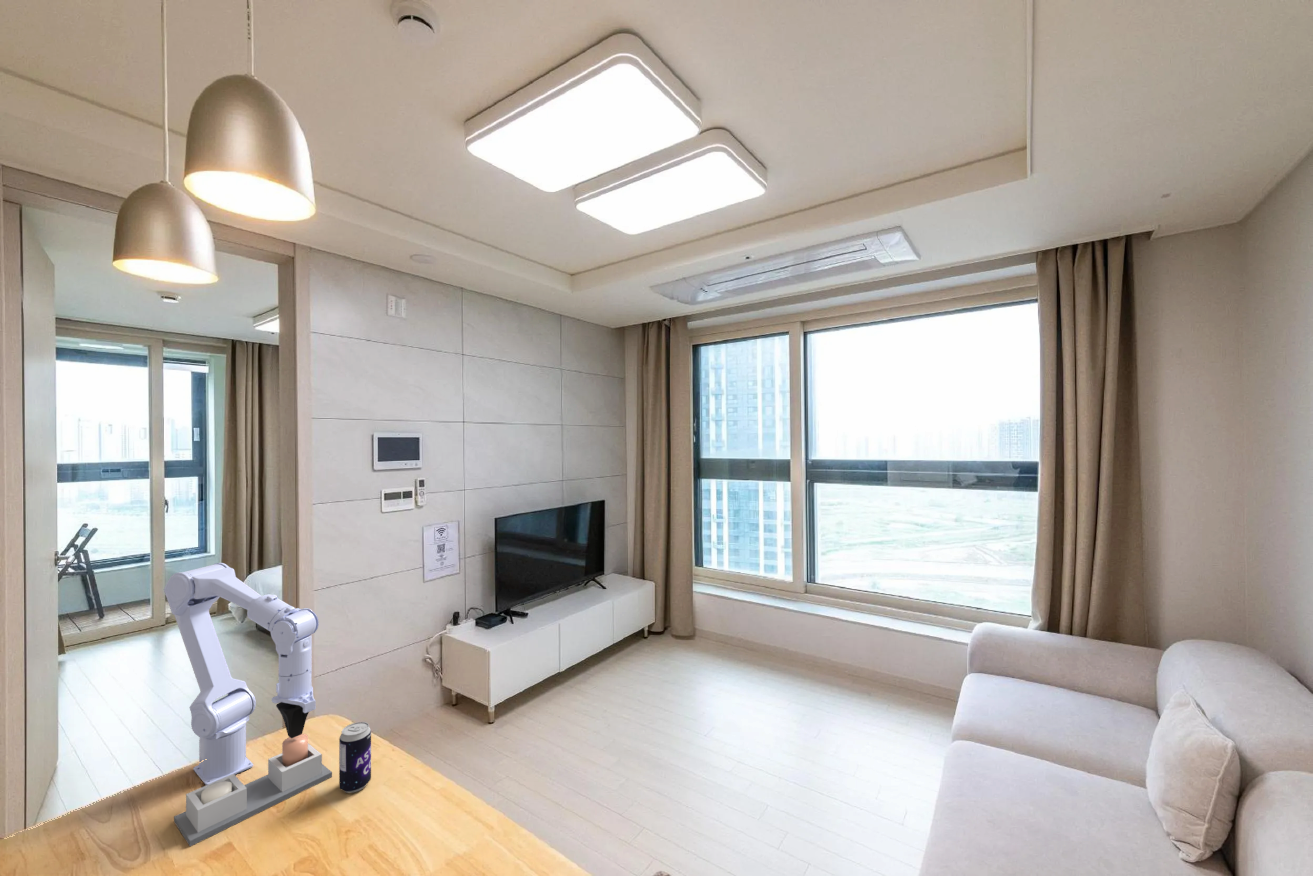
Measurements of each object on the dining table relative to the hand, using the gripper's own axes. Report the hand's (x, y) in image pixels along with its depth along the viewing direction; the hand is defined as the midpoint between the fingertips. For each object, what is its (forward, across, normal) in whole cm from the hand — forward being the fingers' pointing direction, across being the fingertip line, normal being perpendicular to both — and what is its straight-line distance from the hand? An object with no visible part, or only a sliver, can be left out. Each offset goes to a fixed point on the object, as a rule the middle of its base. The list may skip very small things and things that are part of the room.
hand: (295, 735), depth 109 cm
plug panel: (+10, 0, -6) cm, 12 cm away
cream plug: (+8, 0, -13) cm, 15 cm away
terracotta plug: (+5, 0, 0) cm, 5 cm away
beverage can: (+10, +12, +6) cm, 17 cm away
